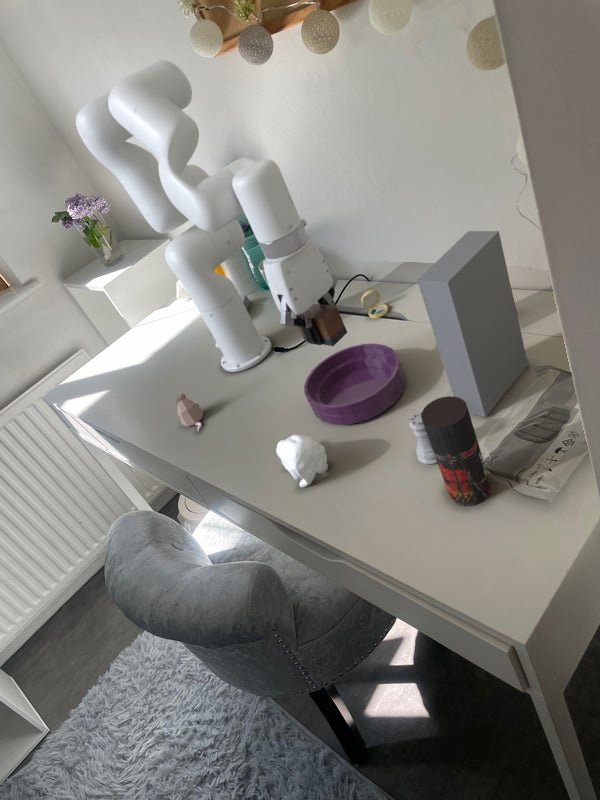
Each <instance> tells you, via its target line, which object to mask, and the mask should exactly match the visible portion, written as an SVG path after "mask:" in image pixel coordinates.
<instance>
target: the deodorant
mask: <svg viewBox="0 0 600 800" xmlns="http://www.w3.org/2000/svg"><path fill="white" fill-rule="evenodd" d="M421 413H422V414H421V418H422V421H423V424H424V427H425V430H426V432H427V435H428V438H429V441H430V444H431V446H432V449H433V452H434V455H435V457H436V460H437V463H436V464H437V465H438V468H439V471H440V474H441V476H442V480H443V482H444V486H445V488H446V491H447V493H448V496H449V498H450V500H451V501H452V502H453V503H455V504H456V505H458V506H462V507H473V506H476V505H479V504H482V503H483V502H484V501H485V500H487V499H488V498H489V497H490V494H491V493H492V484H491V480H490V477H489V474H488V471H487V467H486V464H485V461H484V458H483V454H482V451H481V448H480V444H479V441H478V438H477V434H476V430H475V428H474V424H473V420H472V417H471V413H469V411H468V407H467V404H466V402H465V401H464V400H462V399H461V398H458V397H454V396H453V395H451V396H442V397H439V398H436V399H434V400H432V401H430V402H429V403H428V404H426V405H425V407H423V410H422V411H421Z"/></svg>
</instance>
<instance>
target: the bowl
mask: <svg viewBox="0 0 600 800" xmlns="http://www.w3.org/2000/svg"><path fill="white" fill-rule="evenodd" d="M406 381H407V377H406V374H405V371H404V367H403V366H402V363H401V360H400V357H399V355H398V353H397V352H396V351H395V350H394V349H393V348H392V347H390V346H388V345H385V344H382V343H361V344H356V345H352V346H350V347H346V348H344V349H341V350H339V351H337V352H335V353H333V354H331V355H329V356H328V357H326V358H324V359H323V360H322V361H321V362H319V363H318V364H317V365H316V366H315V367H314V368H313V369H312V370H311V371H310V373H309V374H308V376H307V377H306V379H305V382H304V386H303V391H304V395H305V397H306V400H307V402H308V404H309V406H310V408H311V411H312V412H313V414H314V415H315V417H316V418H317V419H319V420H320V421H322V422H324V423H327V424H330V425H338V426H339V425H341V426H345V425H351V424H358V423H361V422H364V421H367V420H370V419H373V418H374V417H375V416H378V415H380V414H382V413H383V412H385V411H386V410H387V409H389V408H390V407H391V406H392V405H394V404H395V402H396V401H397V400H398V399H399V398H400V397H401V396H402V394H403V392H404V390H405V387H406Z"/></svg>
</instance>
